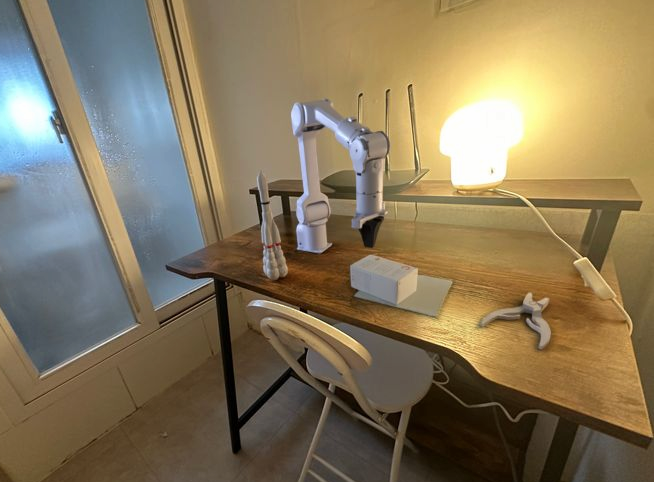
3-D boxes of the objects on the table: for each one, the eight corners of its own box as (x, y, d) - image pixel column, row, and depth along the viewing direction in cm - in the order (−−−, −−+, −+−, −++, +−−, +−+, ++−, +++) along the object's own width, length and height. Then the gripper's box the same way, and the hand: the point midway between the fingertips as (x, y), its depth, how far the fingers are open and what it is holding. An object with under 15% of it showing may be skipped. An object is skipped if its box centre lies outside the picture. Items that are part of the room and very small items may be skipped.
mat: (354, 296, 73) (354, 295, 73) (379, 268, 84) (379, 267, 83) (435, 317, 62) (435, 316, 62) (452, 281, 73) (452, 280, 73)
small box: (350, 287, 76) (396, 306, 67) (349, 264, 74) (397, 281, 64) (370, 275, 80) (416, 291, 71) (370, 253, 78) (418, 267, 68)
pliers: (480, 318, 58) (510, 287, 65) (478, 325, 58) (509, 293, 66) (545, 342, 50) (571, 303, 58) (543, 350, 51) (568, 310, 59)
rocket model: (292, 271, 89) (279, 166, 76) (284, 284, 83) (268, 172, 70) (269, 270, 91) (253, 168, 78) (260, 282, 85) (240, 174, 72)
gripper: (373, 201, 61) (373, 261, 66) (398, 183, 70) (396, 237, 76) (342, 199, 65) (344, 256, 71) (369, 183, 75) (369, 234, 80)
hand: (369, 246), depth 74 cm, fingers closed
